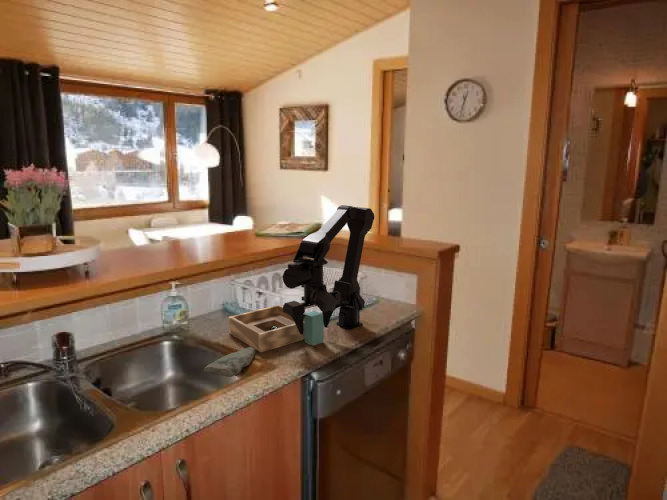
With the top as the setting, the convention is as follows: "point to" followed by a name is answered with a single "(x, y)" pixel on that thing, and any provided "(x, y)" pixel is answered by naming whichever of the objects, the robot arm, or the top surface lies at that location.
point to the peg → (313, 328)
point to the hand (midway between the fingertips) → (313, 330)
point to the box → (265, 328)
